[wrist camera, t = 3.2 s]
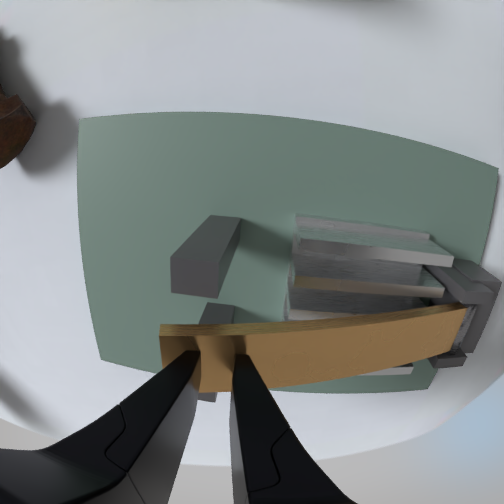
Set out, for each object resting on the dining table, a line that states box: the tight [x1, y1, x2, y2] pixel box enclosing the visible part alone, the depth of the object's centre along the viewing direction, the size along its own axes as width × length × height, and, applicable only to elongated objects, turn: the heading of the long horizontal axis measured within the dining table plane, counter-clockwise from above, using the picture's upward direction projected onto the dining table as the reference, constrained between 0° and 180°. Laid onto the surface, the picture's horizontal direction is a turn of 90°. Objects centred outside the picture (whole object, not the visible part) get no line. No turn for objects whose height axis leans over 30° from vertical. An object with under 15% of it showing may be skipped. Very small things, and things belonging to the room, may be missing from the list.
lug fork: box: [170, 215, 241, 402], centre depth 12 cm, size 2×6×6 cm, turn 175°
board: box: [77, 112, 499, 393], centre depth 16 cm, size 24×16×1 cm, turn 85°
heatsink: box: [280, 213, 454, 375], centre depth 13 cm, size 7×7×3 cm
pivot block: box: [422, 258, 502, 369], centre depth 13 cm, size 4×4×4 cm
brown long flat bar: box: [159, 301, 478, 393], centre depth 10 cm, size 14×3×1 cm, turn 85°
